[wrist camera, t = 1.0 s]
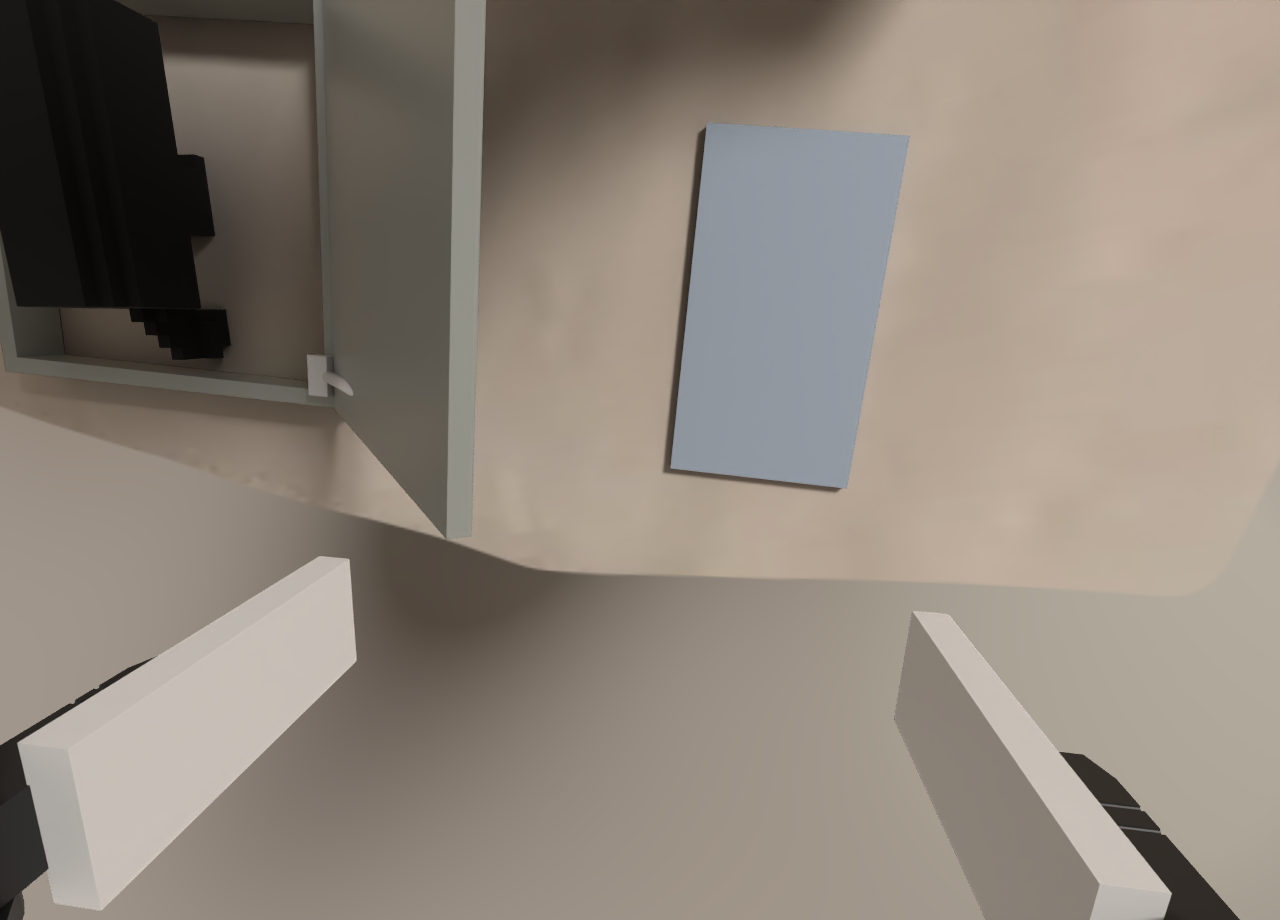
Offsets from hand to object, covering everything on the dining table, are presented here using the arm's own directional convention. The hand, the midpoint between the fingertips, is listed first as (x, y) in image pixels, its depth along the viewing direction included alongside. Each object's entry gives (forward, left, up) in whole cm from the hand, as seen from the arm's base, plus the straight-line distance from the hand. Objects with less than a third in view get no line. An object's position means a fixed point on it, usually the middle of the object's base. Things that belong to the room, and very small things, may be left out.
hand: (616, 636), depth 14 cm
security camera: (-11, -32, -26) cm, 42 cm away
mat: (-8, +5, -25) cm, 27 cm away
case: (-11, -24, -25) cm, 37 cm away
